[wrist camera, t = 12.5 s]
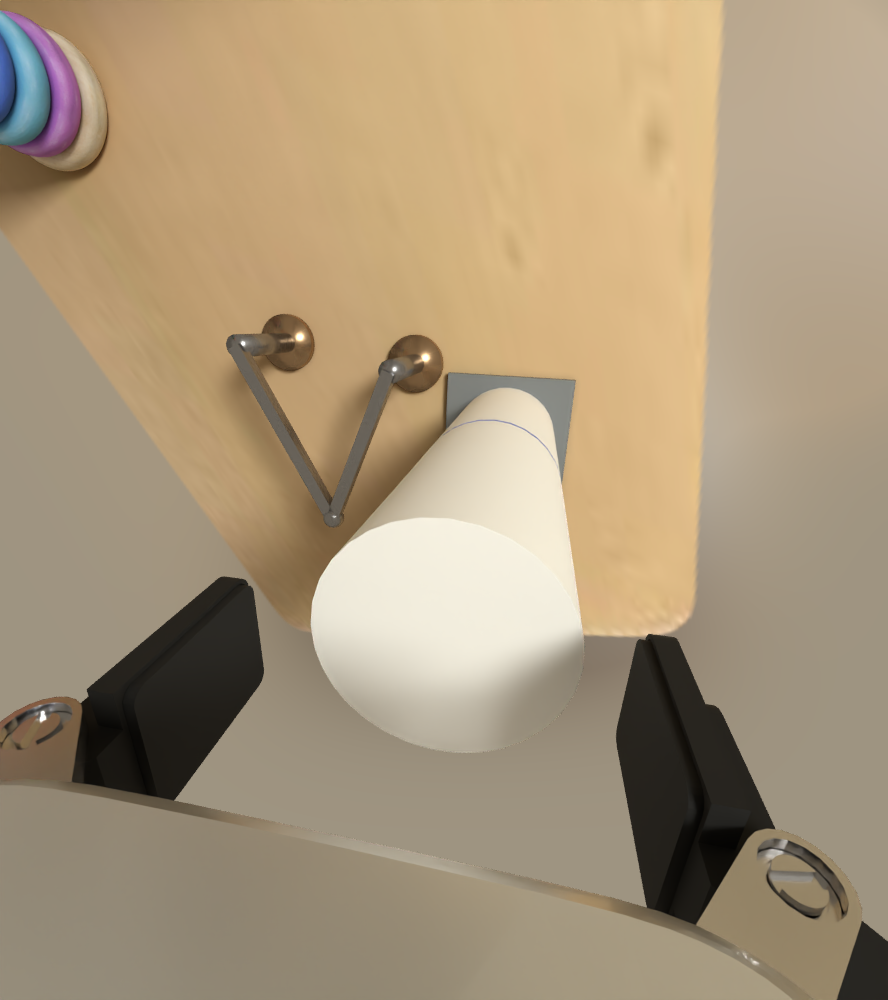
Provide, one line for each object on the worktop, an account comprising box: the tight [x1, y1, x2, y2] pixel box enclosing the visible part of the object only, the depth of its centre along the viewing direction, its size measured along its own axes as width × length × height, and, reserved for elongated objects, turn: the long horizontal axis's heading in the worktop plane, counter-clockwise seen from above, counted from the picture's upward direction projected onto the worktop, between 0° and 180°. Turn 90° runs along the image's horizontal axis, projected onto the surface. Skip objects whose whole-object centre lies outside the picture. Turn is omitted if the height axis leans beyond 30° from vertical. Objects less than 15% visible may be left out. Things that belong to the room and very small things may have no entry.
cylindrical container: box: [311, 388, 585, 753], centre depth 24 cm, size 7×7×25 cm
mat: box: [446, 372, 576, 484], centre depth 36 cm, size 9×9×1 cm
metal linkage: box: [226, 314, 443, 528], centre depth 34 cm, size 14×14×8 cm
